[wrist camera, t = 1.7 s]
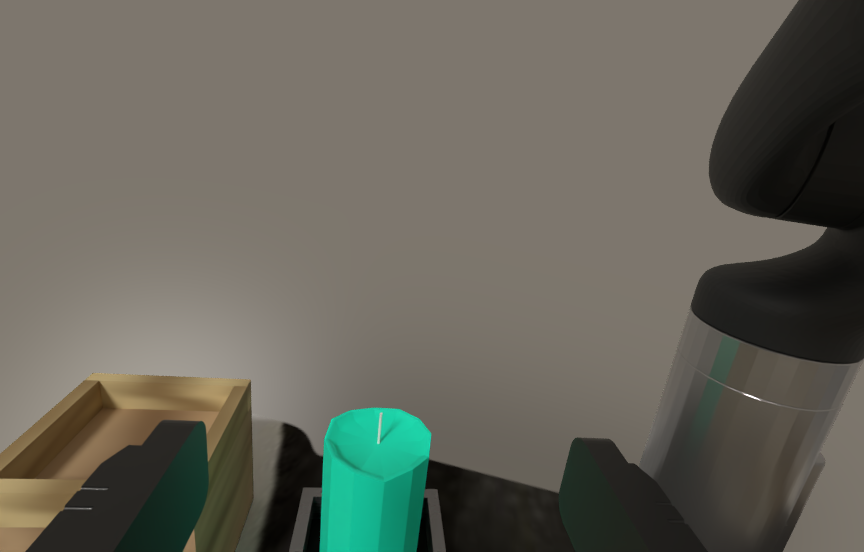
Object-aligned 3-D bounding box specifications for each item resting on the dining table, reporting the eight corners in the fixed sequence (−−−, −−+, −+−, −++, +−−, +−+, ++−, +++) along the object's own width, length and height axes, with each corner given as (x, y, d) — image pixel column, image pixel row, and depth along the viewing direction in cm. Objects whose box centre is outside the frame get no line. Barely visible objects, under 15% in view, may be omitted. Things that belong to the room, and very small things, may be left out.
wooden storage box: (253, 497, 33) (250, 379, 30) (203, 641, 24) (191, 494, 21) (111, 496, 32) (92, 373, 28) (2, 648, 23) (-44, 492, 19)
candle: (298, 598, 26) (302, 429, 23) (347, 519, 32) (356, 373, 28) (392, 639, 25) (413, 466, 21) (426, 549, 30) (448, 399, 27)
